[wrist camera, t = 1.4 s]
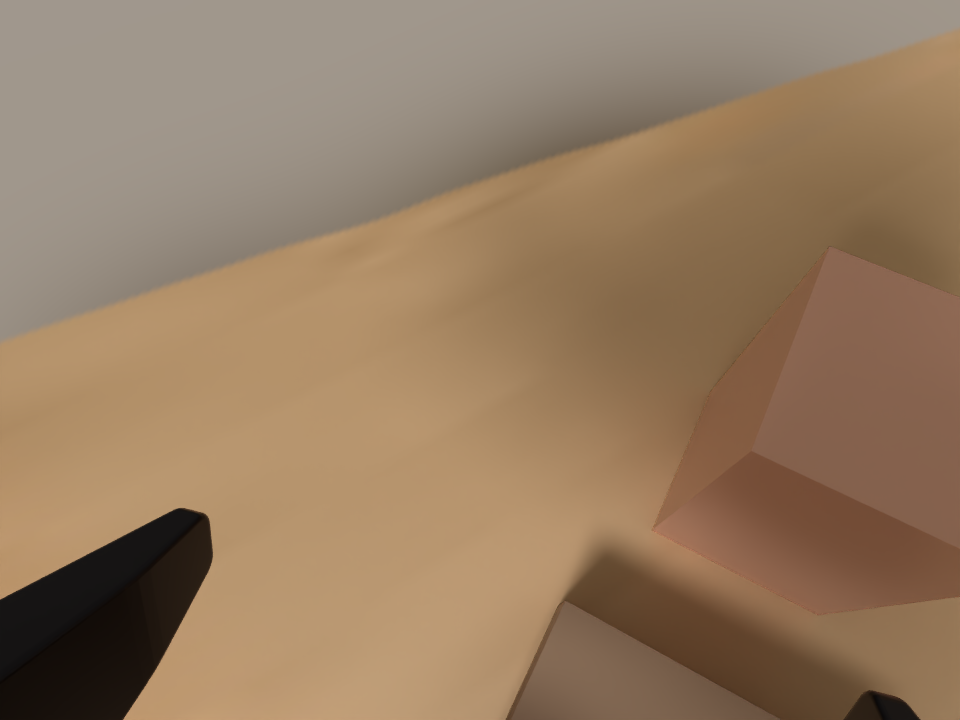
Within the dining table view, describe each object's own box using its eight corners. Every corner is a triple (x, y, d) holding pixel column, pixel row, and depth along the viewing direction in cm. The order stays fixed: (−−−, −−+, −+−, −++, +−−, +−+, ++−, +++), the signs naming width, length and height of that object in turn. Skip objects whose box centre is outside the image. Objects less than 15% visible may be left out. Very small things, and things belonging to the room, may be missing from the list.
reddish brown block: (817, 614, 22) (1039, 586, 13) (651, 530, 24) (751, 450, 15) (865, 461, 25) (1085, 346, 15) (710, 391, 26) (829, 246, 17)
